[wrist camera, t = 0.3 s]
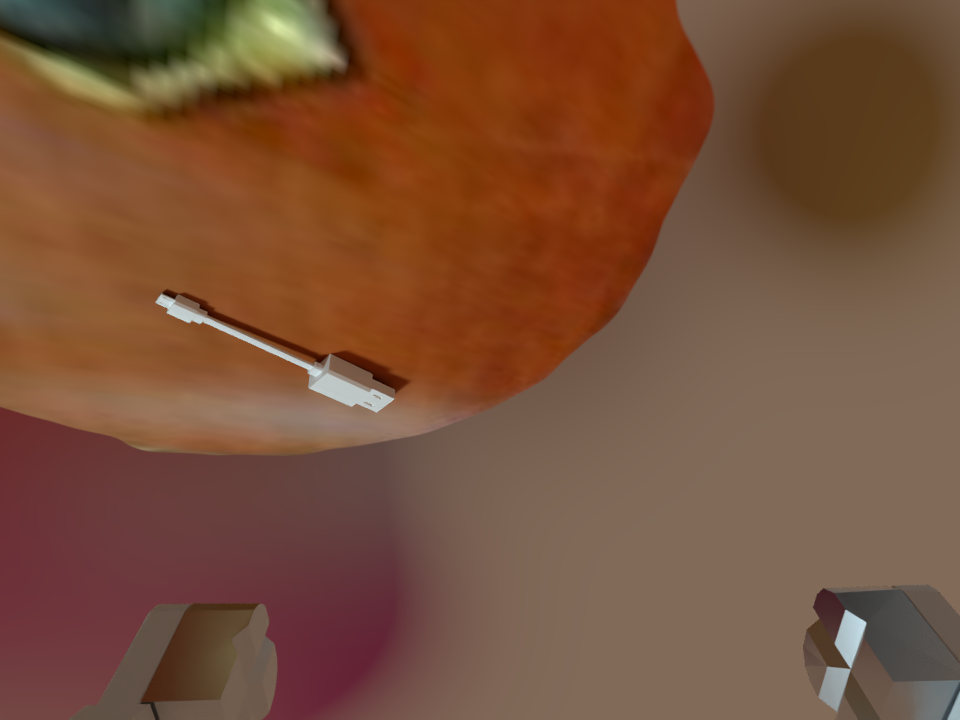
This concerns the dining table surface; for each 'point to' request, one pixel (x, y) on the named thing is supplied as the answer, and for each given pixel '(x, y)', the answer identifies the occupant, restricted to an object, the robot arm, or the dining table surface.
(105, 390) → the dining table surface
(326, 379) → the charging cable
